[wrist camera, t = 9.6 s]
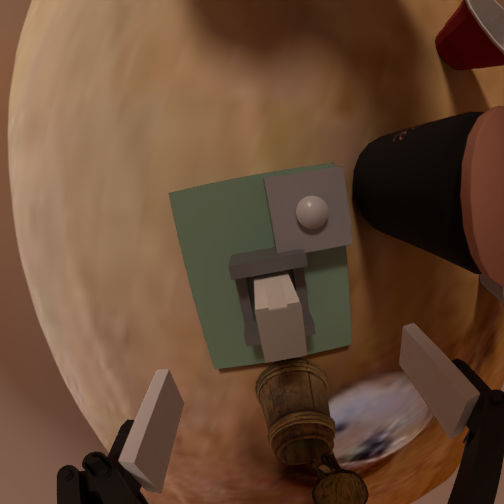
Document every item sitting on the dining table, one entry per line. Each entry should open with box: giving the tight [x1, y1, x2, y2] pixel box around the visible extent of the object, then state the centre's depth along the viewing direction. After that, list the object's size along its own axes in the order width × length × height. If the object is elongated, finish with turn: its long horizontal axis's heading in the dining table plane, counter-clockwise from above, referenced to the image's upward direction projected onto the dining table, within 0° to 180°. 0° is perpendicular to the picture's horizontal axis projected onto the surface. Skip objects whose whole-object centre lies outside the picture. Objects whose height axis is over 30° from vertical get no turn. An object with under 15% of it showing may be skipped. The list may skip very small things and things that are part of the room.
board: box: [169, 163, 353, 369], centre depth 27 cm, size 20×16×6 cm
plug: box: [254, 270, 307, 363], centre depth 23 cm, size 5×3×10 cm, turn 11°
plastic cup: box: [435, 0, 504, 70], centre depth 17 cm, size 11×11×12 cm
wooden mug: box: [255, 359, 369, 504], centre depth 25 cm, size 9×14×18 cm, turn 38°
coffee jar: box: [353, 106, 504, 287], centre depth 18 cm, size 11×11×18 cm
